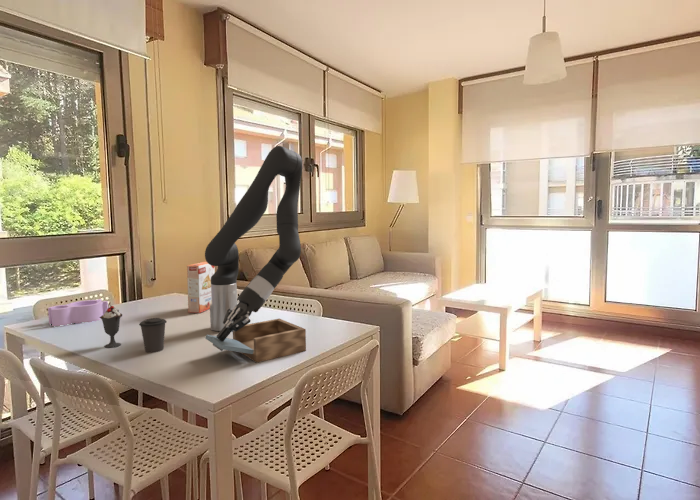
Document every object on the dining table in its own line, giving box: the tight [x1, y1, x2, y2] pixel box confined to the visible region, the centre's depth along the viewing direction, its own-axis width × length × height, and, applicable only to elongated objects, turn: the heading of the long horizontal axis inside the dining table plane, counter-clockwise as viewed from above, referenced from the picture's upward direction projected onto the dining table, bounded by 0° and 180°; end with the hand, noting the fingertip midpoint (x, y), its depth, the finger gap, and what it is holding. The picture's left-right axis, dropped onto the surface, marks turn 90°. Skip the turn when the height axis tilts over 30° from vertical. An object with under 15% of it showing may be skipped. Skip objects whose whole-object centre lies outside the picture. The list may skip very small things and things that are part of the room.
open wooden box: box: [232, 318, 307, 363], centre depth 140 cm, size 17×17×7 cm
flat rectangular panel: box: [204, 334, 254, 354], centre depth 132 cm, size 2×13×10 cm
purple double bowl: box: [47, 298, 109, 327], centre depth 178 cm, size 20×12×7 cm, turn 141°
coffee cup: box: [138, 317, 167, 354], centre depth 140 cm, size 8×8×10 cm
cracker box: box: [186, 261, 216, 314], centre depth 195 cm, size 14×6×21 cm, turn 168°
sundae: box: [99, 302, 123, 349], centre depth 145 cm, size 7×7×15 cm
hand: (219, 339), depth 130 cm, fingers closed
